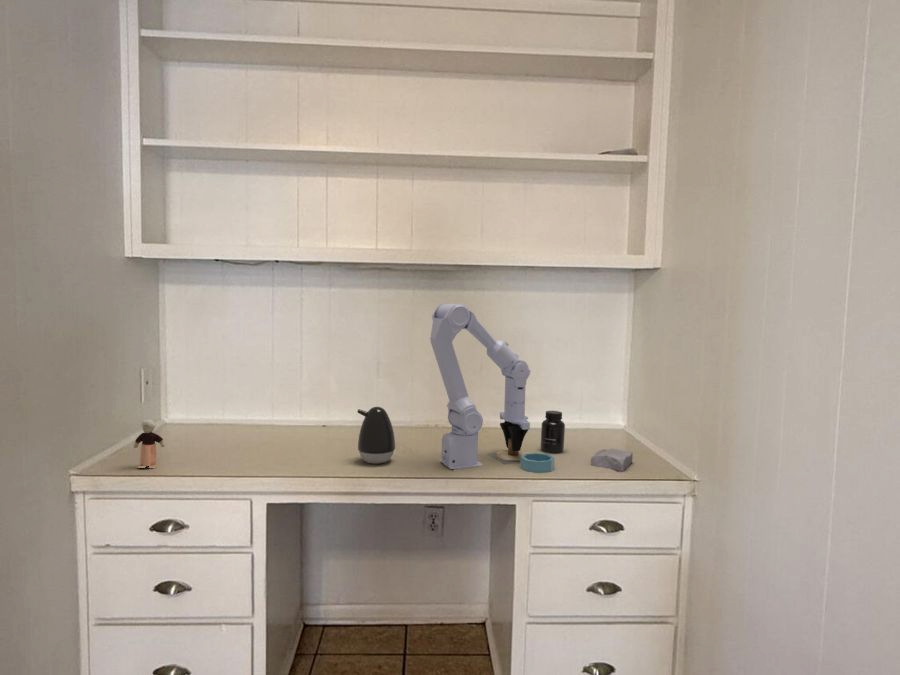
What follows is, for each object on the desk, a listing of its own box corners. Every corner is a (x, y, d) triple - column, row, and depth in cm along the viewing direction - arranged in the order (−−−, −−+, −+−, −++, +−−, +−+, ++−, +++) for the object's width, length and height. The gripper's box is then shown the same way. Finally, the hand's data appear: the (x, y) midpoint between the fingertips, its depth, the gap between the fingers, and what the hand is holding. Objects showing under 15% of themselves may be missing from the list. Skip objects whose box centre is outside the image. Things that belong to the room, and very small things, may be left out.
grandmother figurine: (131, 470, 157) (130, 421, 156) (134, 466, 160) (133, 418, 159) (164, 468, 159) (163, 420, 158) (166, 464, 162) (166, 417, 161)
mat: (504, 465, 168) (504, 464, 168) (487, 455, 178) (487, 453, 178) (539, 462, 172) (539, 460, 172) (521, 452, 182) (521, 450, 182)
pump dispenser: (359, 455, 174) (360, 402, 173) (396, 456, 174) (397, 403, 173) (354, 466, 164) (354, 410, 163) (393, 467, 164) (393, 410, 163)
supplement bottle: (546, 455, 179) (547, 414, 178) (536, 449, 185) (538, 410, 184) (567, 454, 180) (569, 413, 179) (557, 448, 187) (559, 409, 186)
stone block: (589, 474, 168) (626, 472, 163) (586, 456, 168) (623, 454, 163) (600, 465, 178) (635, 463, 174) (598, 448, 179) (632, 446, 174)
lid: (505, 463, 168) (506, 444, 168) (490, 454, 177) (490, 436, 177) (536, 460, 172) (537, 441, 172) (520, 451, 181) (520, 434, 180)
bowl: (530, 475, 160) (531, 462, 159) (515, 466, 167) (516, 454, 167) (559, 472, 163) (559, 460, 162) (542, 463, 170) (543, 452, 170)
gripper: (540, 405, 168) (538, 454, 169) (515, 396, 182) (514, 442, 183) (517, 407, 165) (515, 456, 167) (493, 397, 179) (492, 443, 180)
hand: (513, 449), depth 174 cm, fingers closed on lid, 3 cm apart
